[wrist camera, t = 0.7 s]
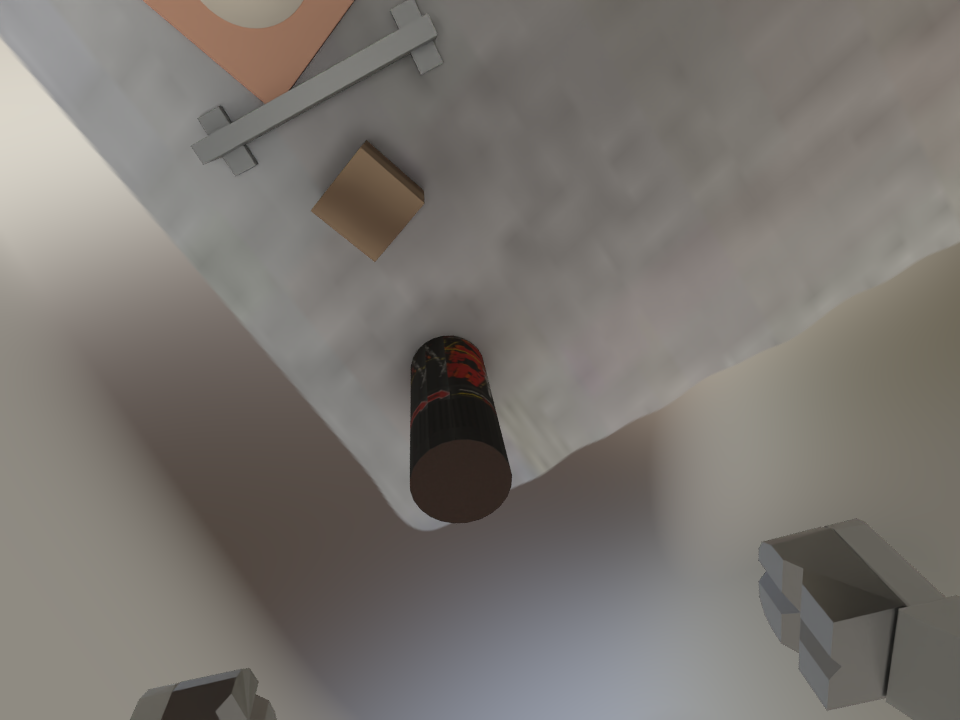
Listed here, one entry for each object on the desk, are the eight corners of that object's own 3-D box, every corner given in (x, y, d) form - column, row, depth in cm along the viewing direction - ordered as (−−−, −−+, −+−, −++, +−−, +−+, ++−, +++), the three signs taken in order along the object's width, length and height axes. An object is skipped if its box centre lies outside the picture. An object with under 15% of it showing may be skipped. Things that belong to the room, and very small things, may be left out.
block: (366, 140, 40) (360, 147, 36) (423, 190, 42) (424, 203, 37) (322, 196, 41) (310, 210, 37) (379, 243, 43) (374, 262, 39)
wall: (415, -4, 37) (415, -14, 33) (445, 61, 38) (448, 59, 35) (197, 119, 38) (175, 123, 35) (235, 176, 40) (217, 185, 37)
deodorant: (395, 364, 47) (388, 478, 34) (455, 321, 46) (472, 420, 33) (441, 414, 50) (451, 539, 36) (498, 374, 49) (531, 487, 35)
